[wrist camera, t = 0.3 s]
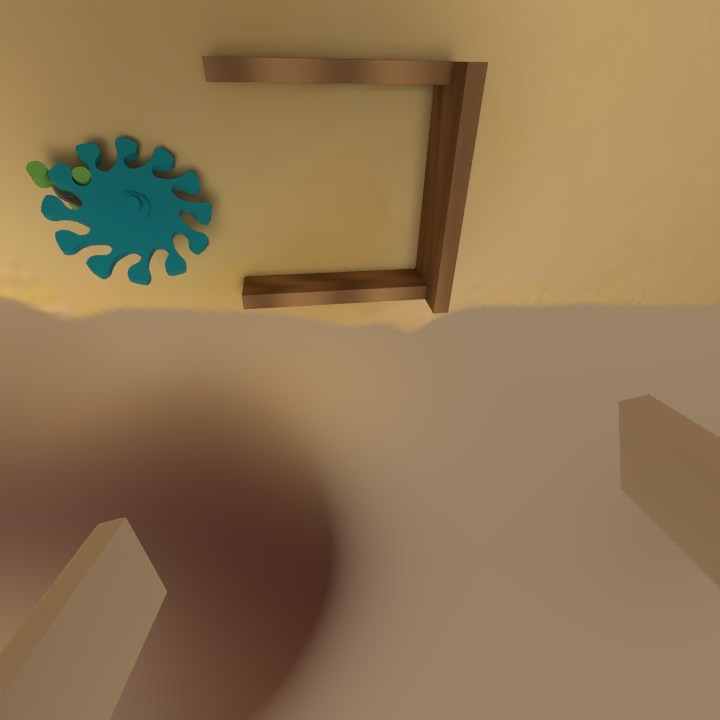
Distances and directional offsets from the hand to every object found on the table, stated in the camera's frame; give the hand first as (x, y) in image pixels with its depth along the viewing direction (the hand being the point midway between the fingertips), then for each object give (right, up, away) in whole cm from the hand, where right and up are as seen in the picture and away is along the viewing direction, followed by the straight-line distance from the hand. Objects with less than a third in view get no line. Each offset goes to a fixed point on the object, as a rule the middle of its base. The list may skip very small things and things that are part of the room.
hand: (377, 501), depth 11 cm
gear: (-17, +16, +20) cm, 31 cm away
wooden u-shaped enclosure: (-3, +17, +21) cm, 28 cm away
